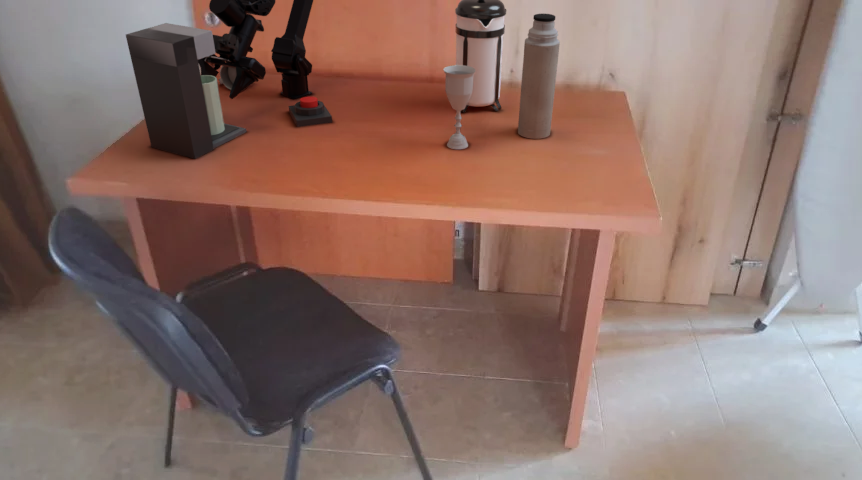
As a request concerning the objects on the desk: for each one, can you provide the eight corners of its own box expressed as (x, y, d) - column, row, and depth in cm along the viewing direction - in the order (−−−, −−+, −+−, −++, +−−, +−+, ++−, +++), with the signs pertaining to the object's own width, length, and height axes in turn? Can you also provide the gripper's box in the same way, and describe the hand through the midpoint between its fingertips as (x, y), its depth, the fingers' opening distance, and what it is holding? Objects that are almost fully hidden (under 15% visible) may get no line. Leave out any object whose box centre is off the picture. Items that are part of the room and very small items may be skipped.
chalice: (476, 141, 167) (479, 67, 157) (468, 152, 162) (471, 75, 152) (447, 137, 169) (448, 63, 159) (438, 148, 164) (439, 72, 154)
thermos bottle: (523, 124, 176) (532, 9, 161) (554, 129, 174) (566, 13, 158) (513, 135, 170) (522, 17, 155) (544, 141, 168) (556, 20, 152)
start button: (299, 104, 180) (298, 97, 179) (315, 102, 181) (315, 95, 180) (302, 109, 176) (301, 103, 175) (319, 107, 178) (319, 101, 177)
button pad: (289, 112, 183) (287, 99, 182) (322, 108, 186) (321, 95, 184) (297, 127, 175) (295, 114, 173) (332, 122, 177) (331, 109, 175)
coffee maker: (206, 122, 178) (187, 16, 163) (248, 132, 172) (232, 24, 158) (151, 147, 164) (125, 34, 150) (195, 159, 159) (172, 43, 144)
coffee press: (518, 103, 189) (526, -14, 173) (480, 119, 179) (486, -3, 163) (469, 89, 199) (473, -23, 183) (431, 103, 189) (431, -14, 173)
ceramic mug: (260, 83, 203) (256, 57, 199) (243, 92, 196) (238, 65, 192) (231, 79, 206) (226, 53, 202) (213, 87, 200) (208, 60, 196)
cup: (225, 124, 173) (217, 74, 166) (223, 134, 168) (215, 83, 161) (197, 125, 172) (188, 75, 166) (194, 136, 167) (184, 85, 160)
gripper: (190, 14, 167) (165, 72, 165) (251, 23, 159) (225, 84, 157) (219, 39, 177) (195, 94, 175) (277, 49, 170) (253, 107, 168)
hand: (216, 95), depth 169 cm, fingers open, 9 cm apart
